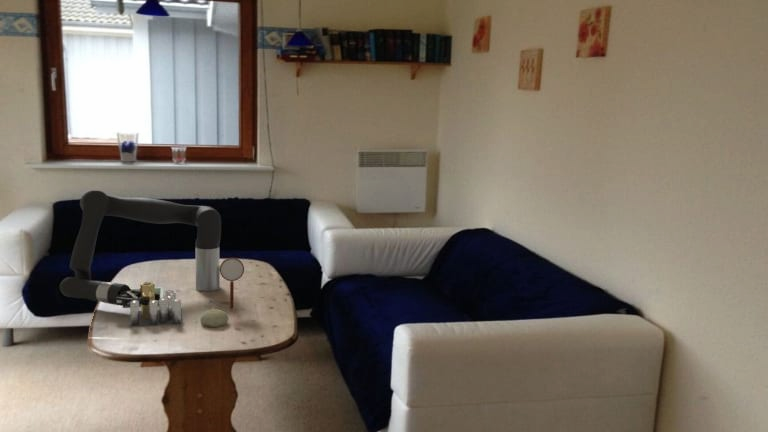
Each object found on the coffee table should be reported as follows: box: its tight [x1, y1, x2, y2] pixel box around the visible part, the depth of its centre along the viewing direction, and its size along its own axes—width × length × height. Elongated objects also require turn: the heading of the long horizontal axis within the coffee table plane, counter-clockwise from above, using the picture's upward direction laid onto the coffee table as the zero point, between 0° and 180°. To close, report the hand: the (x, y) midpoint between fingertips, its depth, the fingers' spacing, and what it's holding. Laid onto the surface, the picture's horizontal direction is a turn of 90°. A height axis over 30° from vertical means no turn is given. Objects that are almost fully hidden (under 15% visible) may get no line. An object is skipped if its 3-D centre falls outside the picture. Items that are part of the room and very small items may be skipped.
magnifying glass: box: [219, 257, 245, 312], centre depth 253 cm, size 9×2×20 cm, turn 102°
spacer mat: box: [129, 308, 184, 328], centre depth 242 cm, size 17×17×1 cm
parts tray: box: [122, 286, 164, 307], centre depth 261 cm, size 14×14×3 cm
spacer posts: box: [129, 289, 182, 326], centre depth 240 cm, size 16×14×8 cm
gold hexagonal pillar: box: [139, 281, 156, 319], centre depth 241 cm, size 5×4×12 cm
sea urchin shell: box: [200, 308, 229, 328], centre depth 240 cm, size 9×8×8 cm
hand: (153, 299), depth 240 cm, fingers open, 5 cm apart
